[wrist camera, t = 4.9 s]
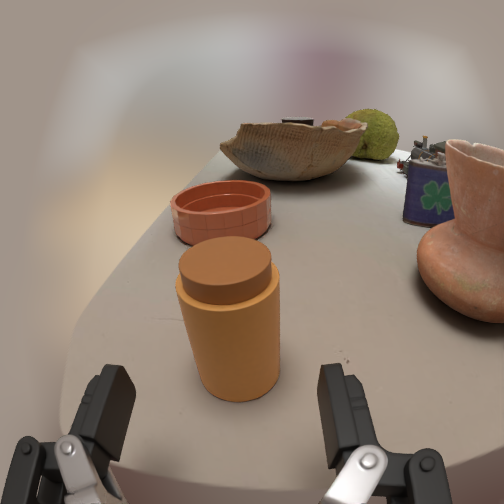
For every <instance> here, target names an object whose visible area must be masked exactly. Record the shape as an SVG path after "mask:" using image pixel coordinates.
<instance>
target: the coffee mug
mask: <svg viewBox="0 0 504 504" xmlns="http://www.w3.org/2000/svg"><path fill="white" fill-rule="evenodd" d="M313 120H314V119H313V118H306V117H291V118H290V117H289V118H282V123H297V124H306V125H309V126H313Z"/></svg>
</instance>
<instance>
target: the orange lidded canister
mask: <svg viewBox="0 0 504 504" xmlns="http://www.w3.org/2000/svg"><path fill="white" fill-rule="evenodd" d="M179 271H180V273H179V275H178V277H177V280H176V292H177V296H178V300H179V304H180V307H181V311H182V315H183V319H184V323H185V326H186V330H187V333H188V337H189V341H190V344H191V348H192V351H193V354H194V358H195V361H196V364H197V368H198V371H199V374H200V377H201V381H202V383H203V385H204V386H205V388H206V389H207V390H208V391H209V392H210V393H211V394H213V395H214V396H216V397H218V398H220V399H223V400H226V401H232V402H244V401H249V400H253V399H256V398H258V397H260V396H262V395H264V394H265V393H267V392H268V391H269V390H270V389H271V388H272V387H273V386H274V385H275V383H276V381H277V379H278V377H279V372H280V288H279V272H278V269H277V267H276V266H275V265H274V263H272V262H271V253H270V251H269V249H268V248H267V247H266V246H265V245H264V244H262V243H261V242H259V241H257V240H254V239H251V238H246V237H238V236H227V237H218V238H213V239H209V240H206V241H203V242H200V243H198V244H196V245H194V246H192V247H191V248H189V249H188V250H187V251H186V252H185V253H184V254H183V255H182V256H181V258H180V260H179Z"/></svg>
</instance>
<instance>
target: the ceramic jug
mask: <svg viewBox="0 0 504 504" xmlns="http://www.w3.org/2000/svg"><path fill="white" fill-rule="evenodd" d="M445 156H446V167H447V175H448V181H449V187H450V194H451V200H452V205H453V210H454V215H455V219H453V220H450V221H447V222H444V223H441V224H439V225H437V226H435V227H433V228H431V229H430V230H429V231H428V232H427V233H426V234H425V235H424V236H423V237H422V239H421V241H420V243H419V245H418V249H417V263H418V269H419V272H420V275H421V277H422V279H423V280H424V282H425V284H426V285H427V286H428V288H429V289H430V290H431V291H432V292H433V293H434V294H435V295H436V296H437V297H438V298H439V299H440V300H441V301H442V302H444V303H445V304H446V305H448V306H449V307H451V308H452V309H454V310H456V311H458V312H459V313H461V314H463V315H466V316H468V317H471V318H474V319H477V320H480V321H485V322H491V323H504V150H502V149H498V148H495V147H491V146H488V145H484V144H480V143H474V144H473V145H471V144H470V143H469V142H468V141H465V140H457V139H456V140H454V139H452V140H447V141H446V145H445Z"/></svg>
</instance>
